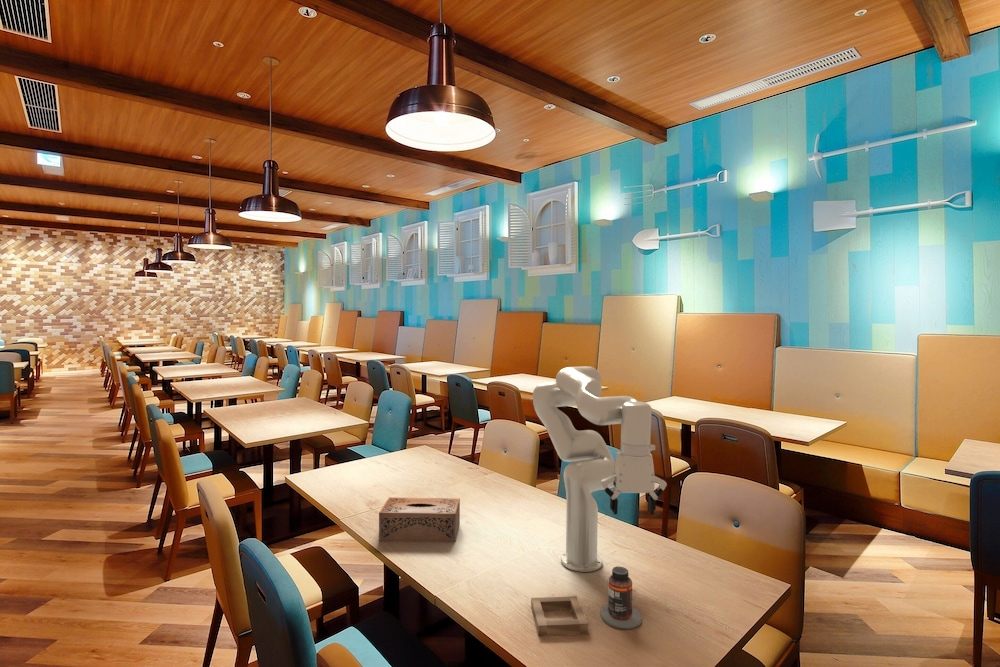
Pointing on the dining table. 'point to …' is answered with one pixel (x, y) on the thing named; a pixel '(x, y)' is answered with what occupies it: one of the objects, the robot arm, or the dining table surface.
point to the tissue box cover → (419, 520)
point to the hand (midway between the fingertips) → (632, 512)
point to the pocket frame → (559, 626)
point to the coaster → (621, 624)
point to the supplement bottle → (620, 594)
